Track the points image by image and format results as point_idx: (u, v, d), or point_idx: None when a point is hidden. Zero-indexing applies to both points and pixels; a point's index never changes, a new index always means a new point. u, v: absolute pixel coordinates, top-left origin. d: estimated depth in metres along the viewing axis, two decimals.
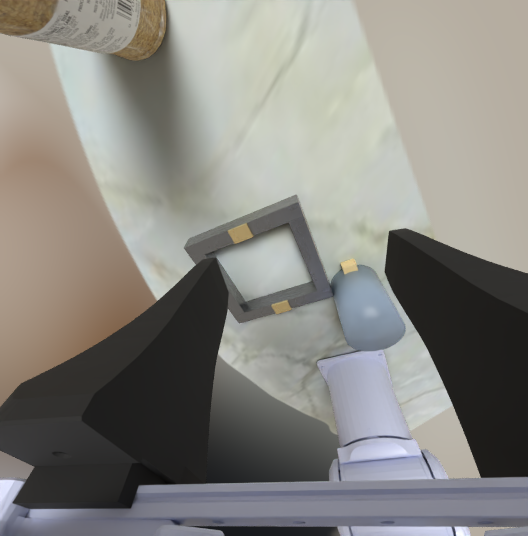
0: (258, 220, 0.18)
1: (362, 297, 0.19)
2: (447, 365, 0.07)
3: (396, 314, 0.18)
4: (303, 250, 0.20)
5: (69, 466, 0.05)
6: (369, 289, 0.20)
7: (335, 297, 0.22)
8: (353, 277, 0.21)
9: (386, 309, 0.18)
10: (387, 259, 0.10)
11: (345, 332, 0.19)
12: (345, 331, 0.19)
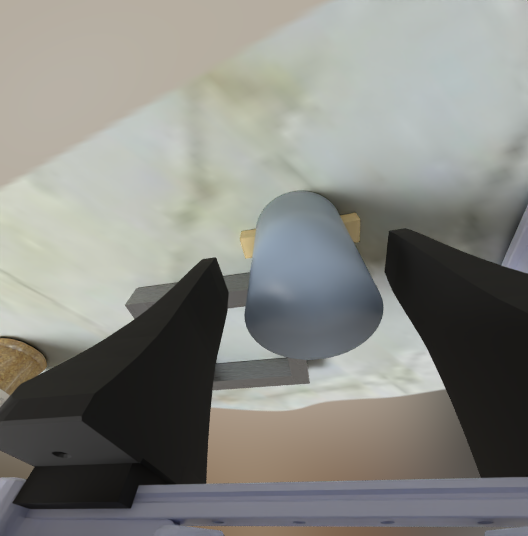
0: None
1: None
2: (447, 365, 0.07)
3: (265, 274, 0.07)
4: None
5: (69, 466, 0.05)
6: (251, 263, 0.10)
7: None
8: None
9: (250, 286, 0.08)
10: (387, 259, 0.10)
11: None
12: None
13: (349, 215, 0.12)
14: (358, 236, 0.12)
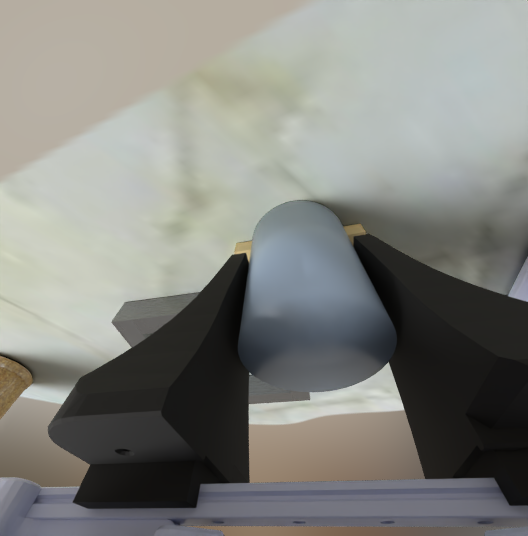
0: None
1: None
2: (398, 369, 0.07)
3: (261, 303, 0.06)
4: None
5: (127, 464, 0.05)
6: (246, 282, 0.09)
7: None
8: None
9: (245, 315, 0.07)
10: None
11: None
12: None
13: (353, 226, 0.11)
14: None
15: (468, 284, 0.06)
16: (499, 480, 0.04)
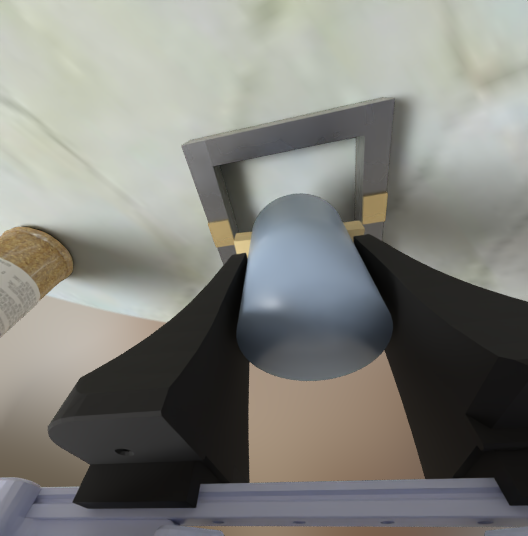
0: (205, 207, 0.14)
1: None
2: (398, 369, 0.07)
3: (263, 287, 0.06)
4: (265, 150, 0.12)
5: (127, 464, 0.05)
6: None
7: None
8: None
9: (245, 299, 0.07)
10: None
11: None
12: None
13: (352, 223, 0.11)
14: None
15: (468, 284, 0.06)
16: (499, 480, 0.04)
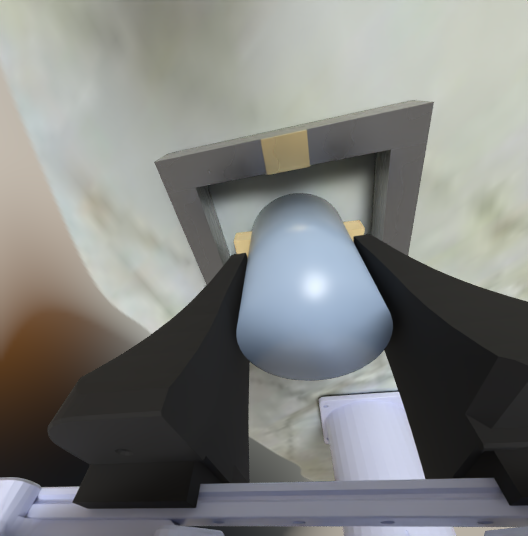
0: (332, 128, 0.09)
1: None
2: (398, 369, 0.07)
3: (263, 286, 0.06)
4: (390, 219, 0.10)
5: (127, 464, 0.05)
6: (246, 269, 0.09)
7: None
8: None
9: (245, 299, 0.07)
10: None
11: None
12: None
13: (353, 222, 0.11)
14: None
15: (468, 284, 0.06)
16: (499, 480, 0.04)
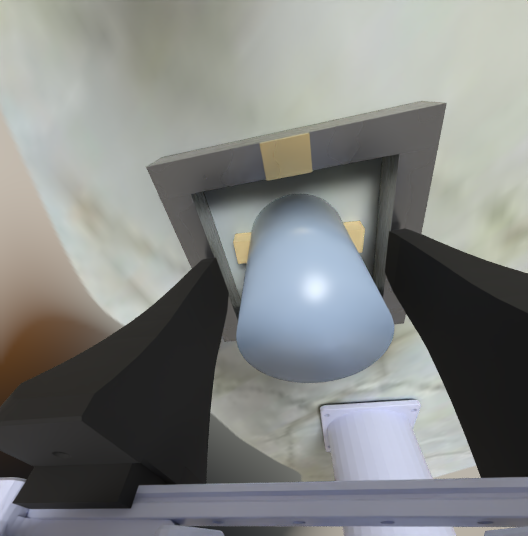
0: (337, 131, 0.08)
1: None
2: (447, 365, 0.07)
3: (263, 289, 0.06)
4: (397, 227, 0.10)
5: (69, 466, 0.05)
6: None
7: None
8: None
9: (245, 301, 0.07)
10: (387, 259, 0.10)
11: None
12: None
13: (353, 223, 0.11)
14: (361, 246, 0.11)
15: None
16: None
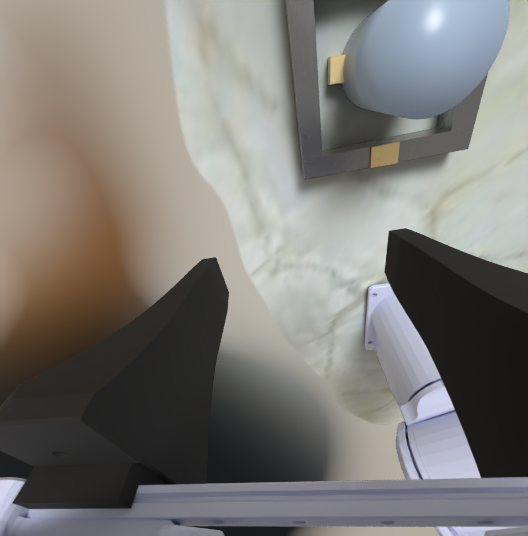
0: None
1: (361, 63, 0.11)
2: (447, 365, 0.07)
3: None
4: None
5: (69, 466, 0.05)
6: (361, 41, 0.11)
7: (370, 109, 0.13)
8: (347, 67, 0.13)
9: (387, 12, 0.09)
10: (387, 259, 0.10)
11: (402, 116, 0.10)
12: (400, 116, 0.10)
13: None
14: None
15: None
16: None
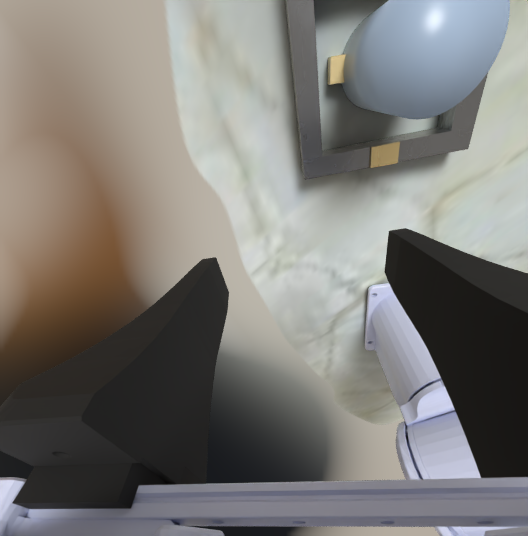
0: None
1: (361, 63, 0.11)
2: (447, 365, 0.07)
3: None
4: None
5: (69, 466, 0.05)
6: (361, 41, 0.11)
7: (370, 109, 0.13)
8: (347, 67, 0.13)
9: (387, 12, 0.09)
10: (387, 259, 0.10)
11: (402, 116, 0.10)
12: (400, 116, 0.10)
13: None
14: None
15: None
16: None
